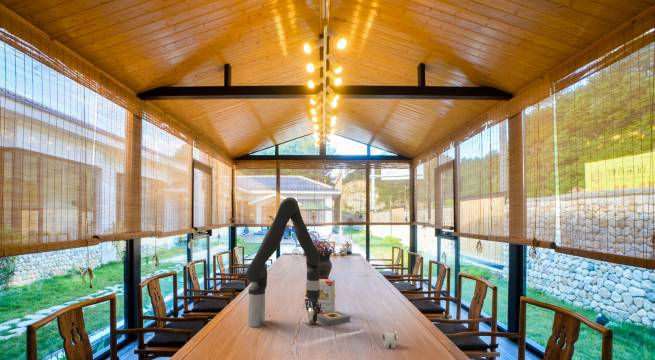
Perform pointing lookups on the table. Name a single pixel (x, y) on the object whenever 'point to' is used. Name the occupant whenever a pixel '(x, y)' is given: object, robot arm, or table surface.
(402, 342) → the table surface
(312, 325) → the brown rectangular block
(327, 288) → the cracker box
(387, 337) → the elephant figurine
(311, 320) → the steel peg
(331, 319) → the hole block
